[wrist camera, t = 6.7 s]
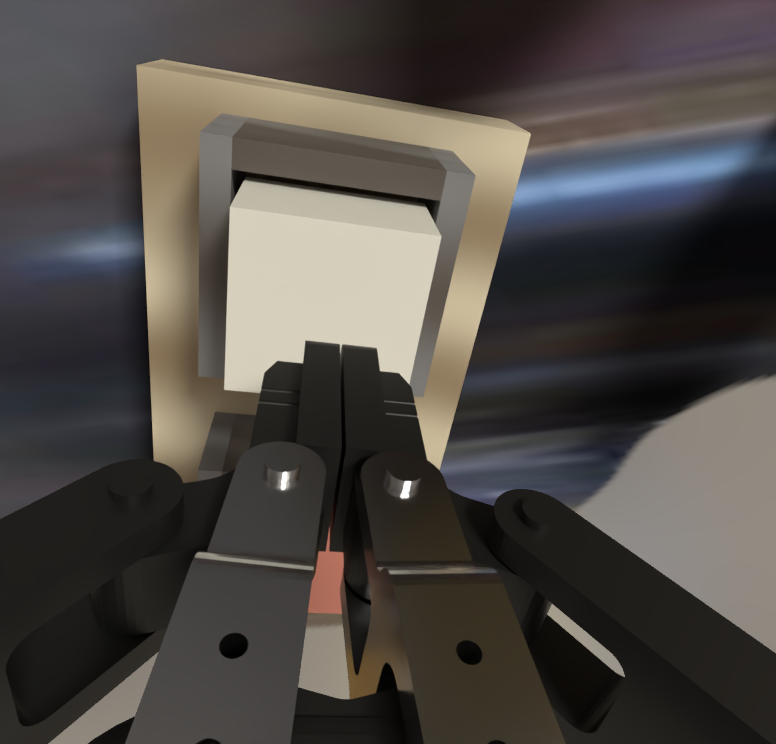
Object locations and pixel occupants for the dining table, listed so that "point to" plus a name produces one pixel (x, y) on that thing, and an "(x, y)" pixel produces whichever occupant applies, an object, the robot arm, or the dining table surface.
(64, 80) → the dining table surface
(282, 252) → the ivory key
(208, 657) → the robot arm
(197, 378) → the key panel
